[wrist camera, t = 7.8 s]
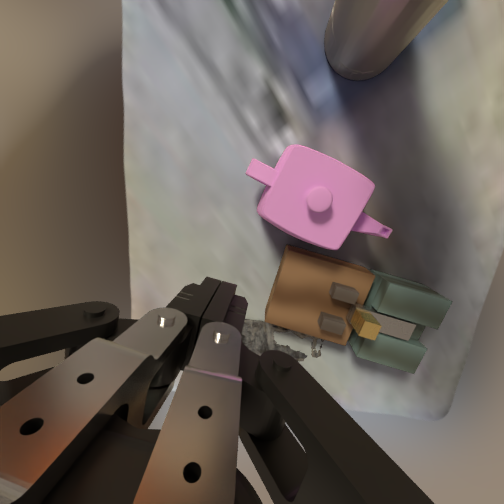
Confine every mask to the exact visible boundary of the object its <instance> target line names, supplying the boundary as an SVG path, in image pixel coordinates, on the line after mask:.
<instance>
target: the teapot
mask: <svg viewBox="0 0 504 504" xmlns="http://www.w3.org/2000/svg"><path fill="white" fill-rule="evenodd" d="M246 175H248V176H250V177H251V178H253V179H255V180H257V181H259V182H261V183H263V184H264V185H266V187H265V189H264V192H263V194H262V197H261V199H260V201H259V204H258V207H257V212H258V214H259V215H260V216H261V217H262V218H263V219H265V220H266V221H268V222H269V223H271V224H272V225H274V226H276V227H277V228H279V229H280V230H282V231H284V232H285V233H287V234H289V235H291V236H293V237H296V238H298V239H300V240H303V241H305V242H308V243H310V244H313V245H316V246H319V247H322V248H325V249H330V250H338V249H339V248H340V247H341V245H342V244H343V242H344V241H345V239H346V238H347V236H348V234H349V233H350V231H355V232H360V233H365V234H369V235H374V236H379V237H384V238H387V239H388V237H389V235H390V234H391V232H392V230H393V229H391V228H389V227H387V226H385V225H383V224H381V223H379V222H377V221H376V220H374V219H373V218H371V217H370V216H368V215H367V214H365V213H364V212H362V211H363V209H364V207H365V206H366V204H367V202H368V200H369V199H370V197H371V195H372V193H373V191H374V188H375V185H374V183H373V182H372V181H371V180H369V179H368V178H367V177H365V176H364V175H362V174H361V173H359V172H357V171H356V170H354V169H352V168H350V167H349V166H347V165H345V164H343V163H342V162H340V161H338V160H336V159H334V158H332V157H329V156H327V155H325V154H323V153H320V152H318V151H316V150H313V149H311V148H308V147H305V146H302V145H290V146H288V147H287V148H286V149H285V151H284V152H283V154H282V156H281V157H280V159H279V161H278V163H277V165H276V167H275V169H273V168H272V167H270V166H268V165H266V164H264V163H262V162H260V161H258V160H256V159H254V158H252V161H251V163H250V165H249V167H248V169H247V171H246Z"/></svg>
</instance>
